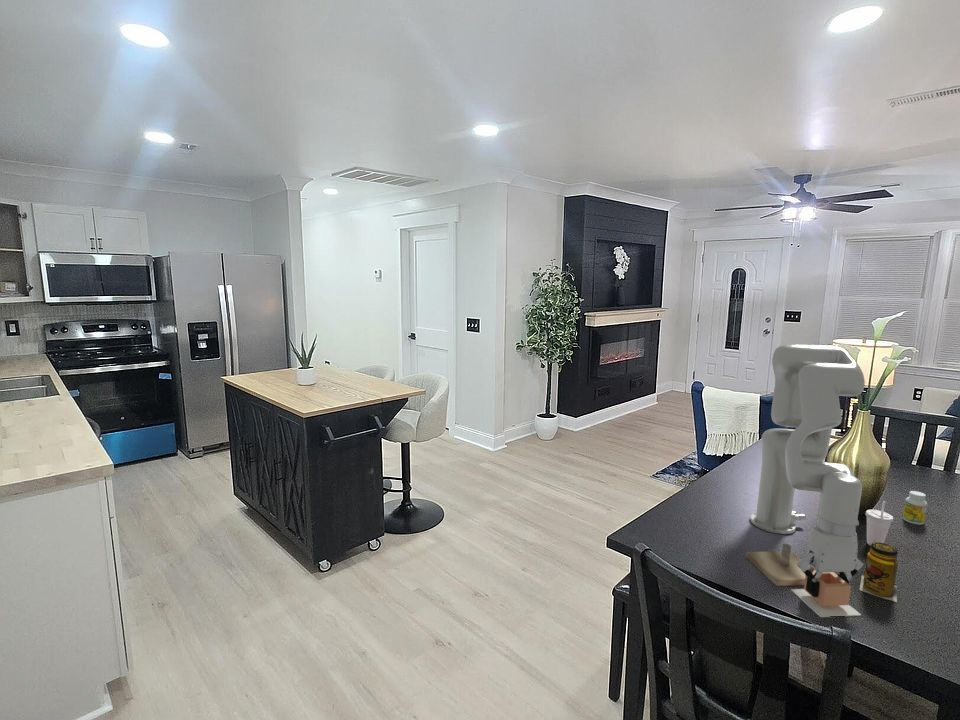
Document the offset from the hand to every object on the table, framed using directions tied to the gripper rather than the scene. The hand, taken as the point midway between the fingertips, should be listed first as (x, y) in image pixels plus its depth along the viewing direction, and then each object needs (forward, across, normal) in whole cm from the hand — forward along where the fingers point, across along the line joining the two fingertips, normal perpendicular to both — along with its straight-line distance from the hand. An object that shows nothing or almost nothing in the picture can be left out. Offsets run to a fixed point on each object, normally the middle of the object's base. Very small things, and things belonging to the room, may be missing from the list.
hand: (826, 592), depth 121 cm
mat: (+3, 0, 0) cm, 3 cm away
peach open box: (+1, 0, 0) cm, 1 cm away
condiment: (+3, -18, -4) cm, 19 cm away
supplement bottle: (+3, -60, -38) cm, 71 cm away
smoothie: (+3, -35, -24) cm, 43 cm away
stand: (+3, +1, -13) cm, 14 cm away
